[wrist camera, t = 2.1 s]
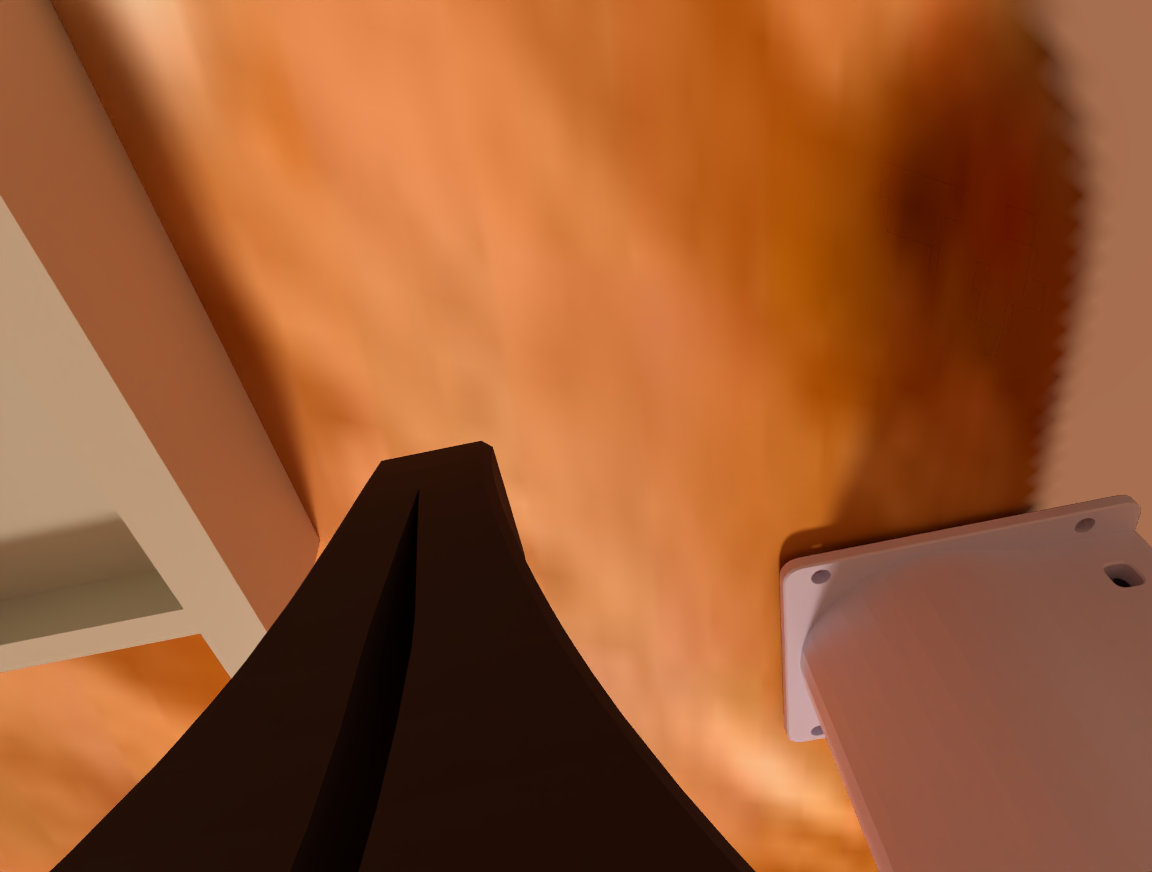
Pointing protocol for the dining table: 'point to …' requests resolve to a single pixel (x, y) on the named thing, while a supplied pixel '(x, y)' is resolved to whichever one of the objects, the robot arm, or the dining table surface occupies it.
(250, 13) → the dining table surface
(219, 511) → the tray
